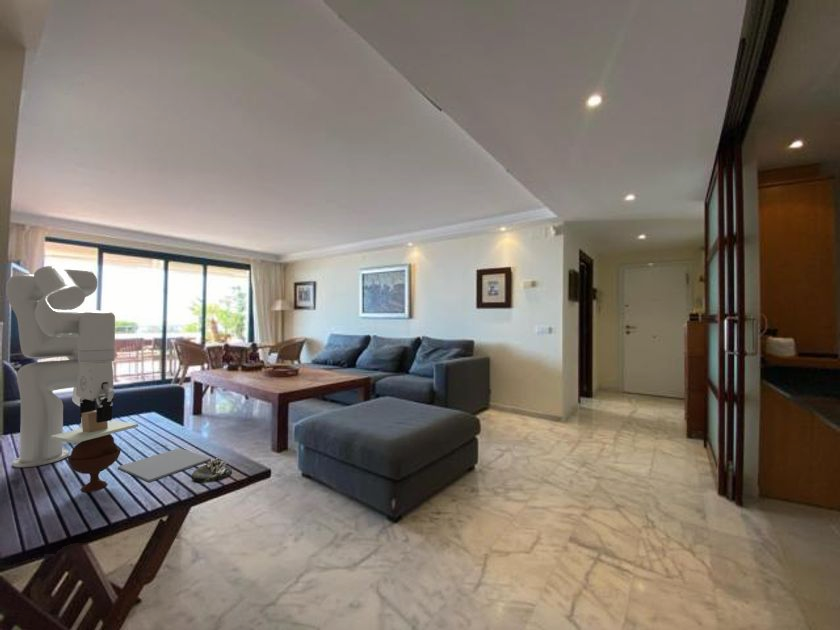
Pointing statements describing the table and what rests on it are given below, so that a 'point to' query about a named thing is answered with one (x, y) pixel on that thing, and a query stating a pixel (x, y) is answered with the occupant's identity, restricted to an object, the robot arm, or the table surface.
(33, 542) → the table surface
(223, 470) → the grey green irregular lump
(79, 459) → the ice cream bowl
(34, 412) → the robot arm
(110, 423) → the cover
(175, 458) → the mat
